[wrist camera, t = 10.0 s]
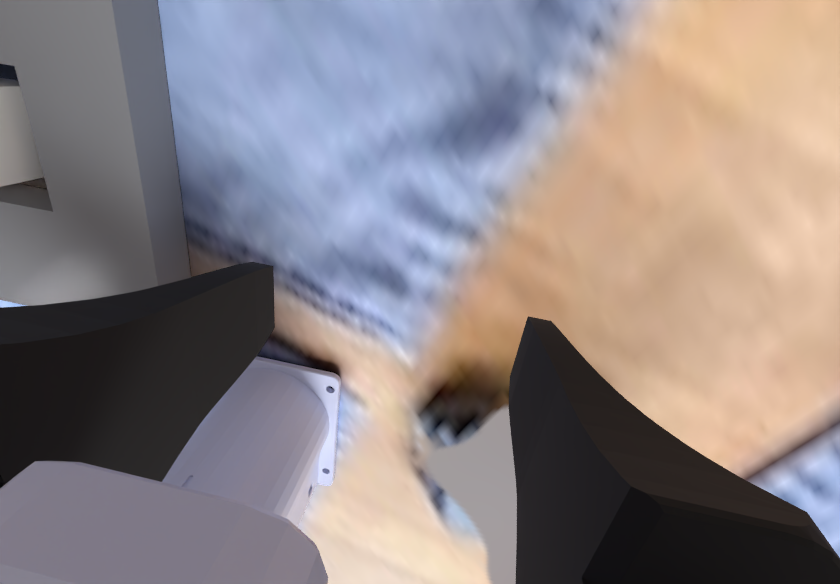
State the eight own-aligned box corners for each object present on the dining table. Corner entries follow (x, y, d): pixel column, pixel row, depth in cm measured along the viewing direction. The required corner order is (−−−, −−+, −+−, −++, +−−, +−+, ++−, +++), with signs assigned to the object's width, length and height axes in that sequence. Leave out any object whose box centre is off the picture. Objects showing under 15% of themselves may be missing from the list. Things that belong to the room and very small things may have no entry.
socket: (195, 312, 25) (166, 335, 23) (-51, 261, 26) (-101, 278, 24) (147, -83, 17) (93, -108, 14) (-210, -132, 18) (-310, -162, 16)
